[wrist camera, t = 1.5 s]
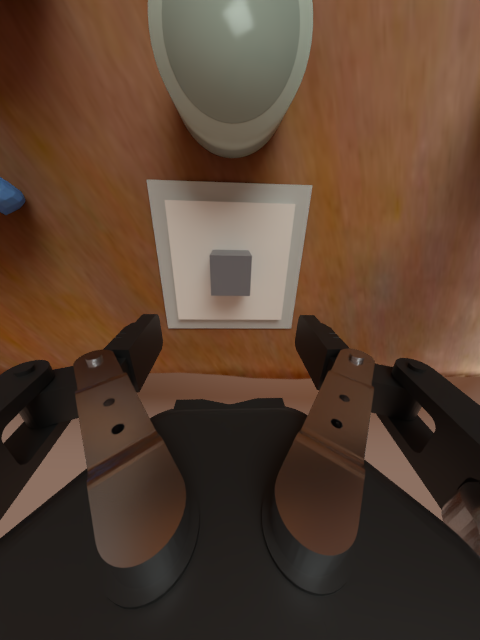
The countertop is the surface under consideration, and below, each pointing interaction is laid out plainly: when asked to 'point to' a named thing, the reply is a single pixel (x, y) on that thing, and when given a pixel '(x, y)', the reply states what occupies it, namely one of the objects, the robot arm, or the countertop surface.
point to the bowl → (231, 66)
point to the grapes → (10, 197)
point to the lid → (229, 258)
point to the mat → (227, 193)
